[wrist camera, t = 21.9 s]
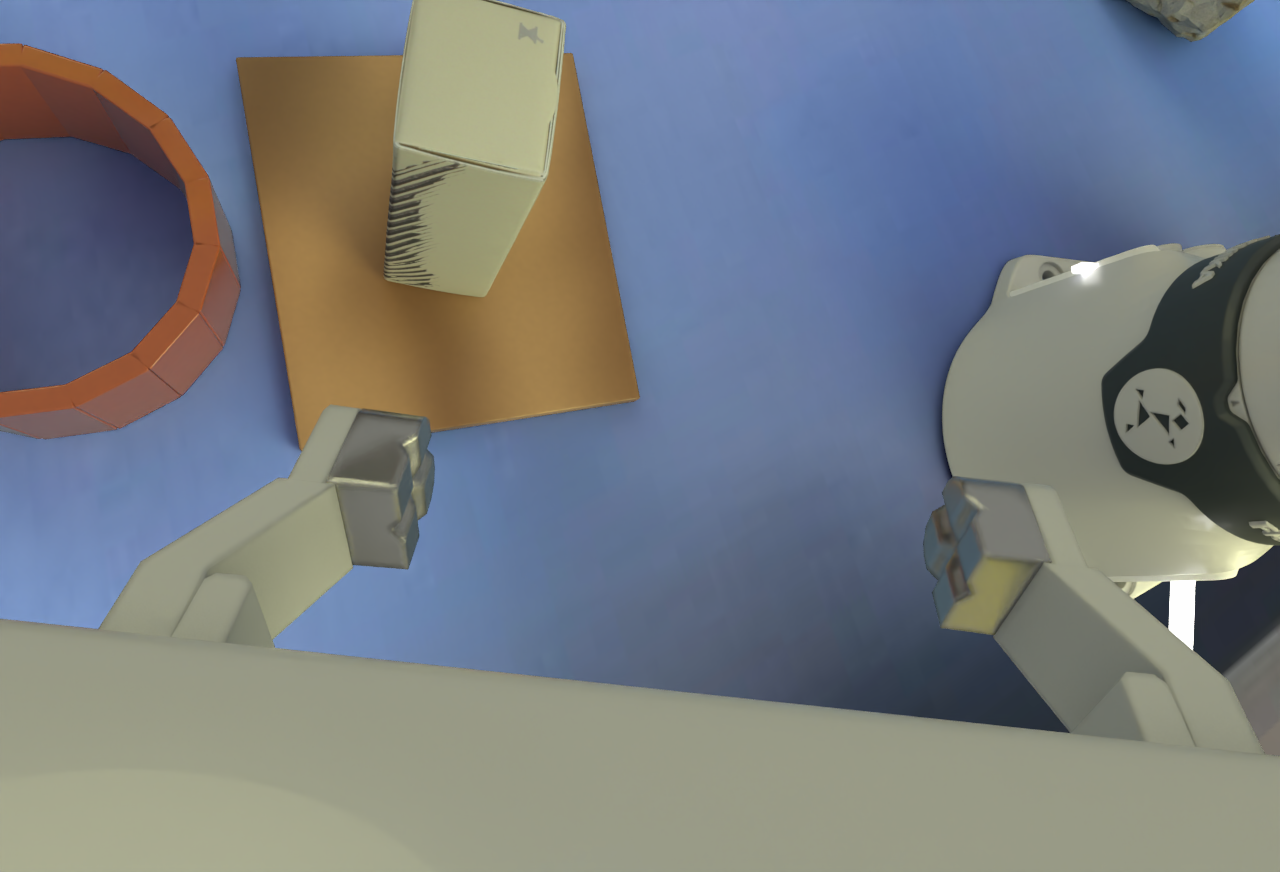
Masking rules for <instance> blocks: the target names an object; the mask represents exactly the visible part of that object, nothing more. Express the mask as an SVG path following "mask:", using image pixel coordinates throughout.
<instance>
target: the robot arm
mask: <svg viewBox="0 0 1280 872" xmlns="http://www.w3.org/2000/svg"><path fill="white" fill-rule="evenodd" d="M1042 277H1043V279H1044V280H1043V279H1042ZM942 428H943V438H944V446H945V451H946V456H947V460H948V463H949V467H950V470H951V473H952V476H953V477H952V478H951V479H950V480H949V481H948V482H947V484H946V486H945V488H944V490H943V492H942V495H943V499H944V503H945V505H943V506H942V507H940V508H938V509H936V510H935V511H933V512H932V514H931V516H930V518H929V520H928V523H927V525H926V528H925V535H924V541H923V551H924V559H925V564H926V569H927V570H928V571H929V572H930V573H931V574H932V575H933V576H934V577H935V578H936V579H937V580H938V582H937V584H936V586H935V588H934V589H933V591H932V595H933V599H934V603H935V607H936V612H937V616H938V620H939V624H940V628H947V629H954V630H962V631H969V632H976V633H984V634H991V635H994V637H993V638H994V639H995V640H996V641H997V643H998V644H999V645H1000V646H1001V648H1002V649H1003V650H1004V651H1005V652H1006V654H1007V655H1008V656H1009V657H1010V659H1011V660H1012V661H1013V662H1014V664H1015V665H1016V666H1017V667H1018V669H1019V670H1020V671H1021V672H1022V674H1023V675H1024V676H1025V677H1026V678H1027V680H1028V681H1029V682H1030V683H1031V685H1032V686H1033V687H1034V688H1035V690H1036V691H1037V692H1038V693H1039V695H1040V696H1041V697H1042V698H1043V700H1044V701H1045V702H1046V703H1047V704H1048V706H1049V707H1050V708H1051V709H1052V711H1053V712H1054V713H1055V714H1056V716H1057V717H1058V718H1059V719H1060V721H1061V722H1062V723H1063V724H1064V725H1065V727H1066V728H1067V729H1068V730H1069V732H1070V733H1062V732H1053V731H1043V730H1034V729H1025V728H1015V727H1006V726H997V725H988V724H978V723H969V722H960V721H950V720H941V719H932V718H923V717H913V716H904V715H894V714H885V713H876V712H866V711H857V710H848V709H838V708H829V707H819V706H810V705H801V704H791V703H782V702H773V701H763V700H754V699H745V698H735V697H726V696H717V695H708V694H698V693H689V692H680V691H670V690H661V689H652V688H643V687H633V686H624V685H615V684H605V683H596V682H587V681H578V680H568V679H559V678H550V677H540V676H531V675H522V674H512V673H503V672H494V671H484V670H475V669H466V668H456V667H447V666H438V665H428V664H419V663H410V662H400V661H391V660H382V659H372V658H363V657H354V656H344V655H335V654H326V653H317V652H307V651H298V650H289V649H279V648H275V646H274V643H273V641H272V640H273V639H274V638H275V637H276V636H277V635H278V634H279V633H281V632H282V631H283V630H284V629H285V628H286V627H287V626H288V625H290V624H291V623H292V622H293V621H294V620H295V619H296V618H297V617H298V616H300V615H301V614H302V613H303V612H304V611H305V610H306V609H307V608H309V607H310V606H311V605H312V604H313V603H314V602H315V601H316V600H318V599H319V598H320V597H321V596H322V595H323V594H324V593H325V592H327V591H328V590H329V589H330V588H331V587H332V586H333V585H334V584H336V583H337V582H338V581H339V580H340V579H341V578H342V577H343V576H344V575H346V574H347V573H348V572H349V571H350V570H351V569H352V568H353V565H361V566H373V567H385V568H397V569H408V568H409V565H410V562H411V559H412V556H413V553H414V550H415V547H416V545H417V542H418V539H419V528H418V520H419V519H420V518H422V517H423V516H424V515H426V514H427V511H428V508H429V505H430V502H431V497H432V492H433V486H434V472H435V466H434V456H433V455H432V454H431V453H430V452H429V451H428V450H427V447H428V444H429V441H430V438H431V428H430V421H429V419H428V418H427V417H424V416H417V415H409V414H402V413H395V412H387V411H380V410H373V409H365V408H363V409H359V408H352V407H345V406H339V405H332V404H330V405H329V406H328V407H327V408H325V409H324V410H323V411H322V413H321V415H320V417H319V419H318V421H317V423H316V425H315V427H314V429H313V431H312V433H311V435H310V437H309V438H308V440H307V442H306V444H305V446H304V448H303V450H302V452H301V454H300V456H299V458H298V460H297V462H296V464H295V466H294V468H293V470H292V472H291V473H290V475H289V477H288V479H286V478H277V479H275V480H274V481H272V482H270V483H269V484H267V485H266V486H264V487H262V488H261V489H259V490H257V491H256V492H254V493H252V494H251V495H249V496H248V497H246V498H244V499H243V500H241V501H239V502H238V503H236V504H234V505H233V506H231V507H229V508H228V509H226V510H225V511H223V512H221V513H220V514H218V515H216V516H215V517H213V518H211V519H210V520H208V521H207V522H205V523H203V524H202V525H200V526H198V527H197V528H195V529H193V530H192V531H190V532H188V533H187V534H185V535H184V536H182V537H180V538H179V539H177V540H175V541H174V542H172V543H170V544H169V545H167V546H166V547H164V548H162V549H161V550H159V551H157V552H156V553H154V554H152V555H151V556H149V557H147V558H146V559H144V560H143V561H141V562H140V564H139V565H138V567H137V568H136V570H135V572H134V573H133V575H132V576H131V578H130V580H129V581H128V583H127V584H126V586H125V587H124V589H123V591H122V592H121V594H120V595H119V597H118V599H117V600H116V602H115V603H114V605H113V606H112V608H111V610H110V611H109V613H108V614H107V616H106V618H105V619H104V621H103V622H102V624H101V625H100V627H99V629H92V628H83V627H74V626H64V625H55V624H45V623H36V622H27V621H17V620H8V619H0V872H1280V756H1275V755H1266V754H1265V753H1264V751H1263V749H1262V747H1261V745H1260V743H1259V741H1258V739H1257V737H1256V735H1255V733H1254V731H1253V729H1252V727H1251V725H1250V723H1249V721H1248V719H1247V717H1246V715H1245V713H1244V711H1243V709H1242V707H1241V705H1240V703H1239V701H1238V699H1237V697H1236V695H1235V693H1234V691H1233V688H1232V686H1231V684H1230V682H1229V681H1228V680H1227V679H1226V678H1225V677H1224V676H1222V675H1221V674H1220V673H1219V672H1218V671H1217V670H1215V669H1214V668H1213V667H1212V666H1211V665H1210V664H1208V663H1207V662H1206V661H1205V660H1204V659H1203V658H1201V657H1200V656H1199V655H1198V654H1197V653H1196V652H1194V651H1193V630H1194V601H1195V581H1200V580H1222V579H1228V578H1233V577H1235V576H1236V575H1237V572H1238V569H1239V568H1241V567H1244V566H1246V565H1248V564H1250V563H1252V562H1254V561H1255V560H1257V559H1258V558H1259V557H1261V556H1262V555H1263V554H1264V553H1265V552H1267V551H1268V550H1269V549H1270V548H1271V547H1272V546H1274V545H1280V234H1279V235H1275V236H1273V237H1270V236H1265V237H1262V238H1259V239H1254V240H1251V241H1248V242H1245V243H1242V244H1239V245H1236V246H1234V247H1232V248H1229V249H1227V250H1226V249H1225V248H1224V246H1223V245H1220V244H1208V245H1201V246H1195V247H1191V248H1187V249H1184V250H1182V246H1181V245H1180V244H1174V243H1173V244H1165V245H1160V246H1155V245H1147V246H1142V247H1138V248H1135V249H1132V250H1129V251H1126V252H1123V253H1120V254H1117V255H1114V256H1111V257H1108V258H1105V259H1103V260H1100V261H1097V262H1088V261H1080V260H1072V259H1064V258H1055V257H1047V256H1039V255H1025V256H1022V257H1018V258H1015V259H1012V260H1010V261H1008V262H1007V263H1006V264H1005V266H1004V267H1003V269H1002V271H1001V273H1000V276H999V279H998V281H997V285H996V288H995V291H994V295H993V299H992V303H991V305H990V307H989V308H988V310H987V312H986V313H985V314H984V316H983V317H982V318H981V319H980V320H979V321H978V323H977V324H976V325H975V326H974V327H973V328H972V329H971V331H970V332H969V333H968V334H967V336H966V337H965V338H964V340H963V342H962V343H961V345H960V347H959V348H958V350H957V352H956V354H955V357H954V359H953V361H952V364H951V366H950V369H949V372H948V376H947V380H946V384H945V389H944V396H943V406H942ZM1163 581H1171V588H1170V613H1169V629H1168V628H1166V627H1165V626H1164V625H1163V624H1162V623H1161V622H1159V621H1158V620H1157V619H1156V618H1155V617H1154V616H1152V615H1151V614H1150V613H1149V612H1148V611H1147V610H1145V609H1144V608H1143V607H1142V606H1141V605H1140V604H1138V603H1137V602H1136V601H1135V600H1134V598H1136V597H1137V596H1139V595H1141V594H1142V593H1144V592H1146V591H1147V590H1149V589H1151V588H1152V587H1154V586H1156V585H1158V584H1159V583H1161V582H1163Z"/></svg>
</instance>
